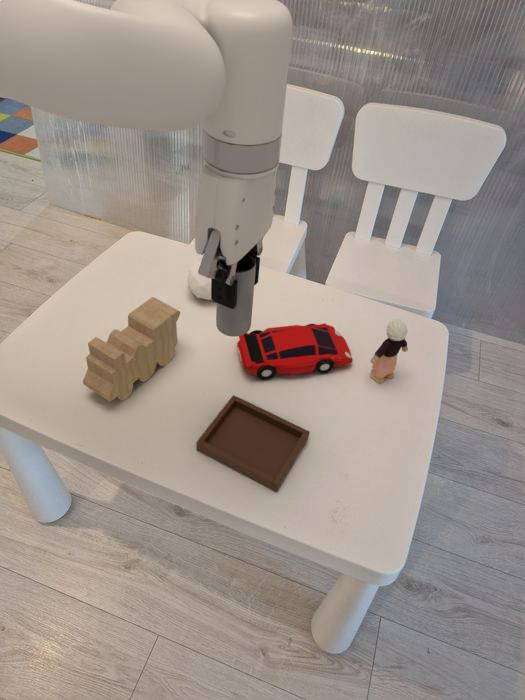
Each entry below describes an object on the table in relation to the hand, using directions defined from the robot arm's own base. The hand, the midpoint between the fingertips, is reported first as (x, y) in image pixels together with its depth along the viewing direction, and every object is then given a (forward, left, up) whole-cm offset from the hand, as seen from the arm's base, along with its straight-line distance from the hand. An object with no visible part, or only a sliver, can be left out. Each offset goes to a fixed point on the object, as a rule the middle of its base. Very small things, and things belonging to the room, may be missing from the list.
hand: (235, 290), depth 64 cm
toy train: (-18, 0, -26) cm, 32 cm away
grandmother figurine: (+18, +22, -26) cm, 38 cm away
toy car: (+3, +18, -26) cm, 32 cm away
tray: (+6, -2, -26) cm, 27 cm away
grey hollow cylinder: (0, 0, -6) cm, 6 cm away
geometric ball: (-19, +24, -26) cm, 41 cm away
